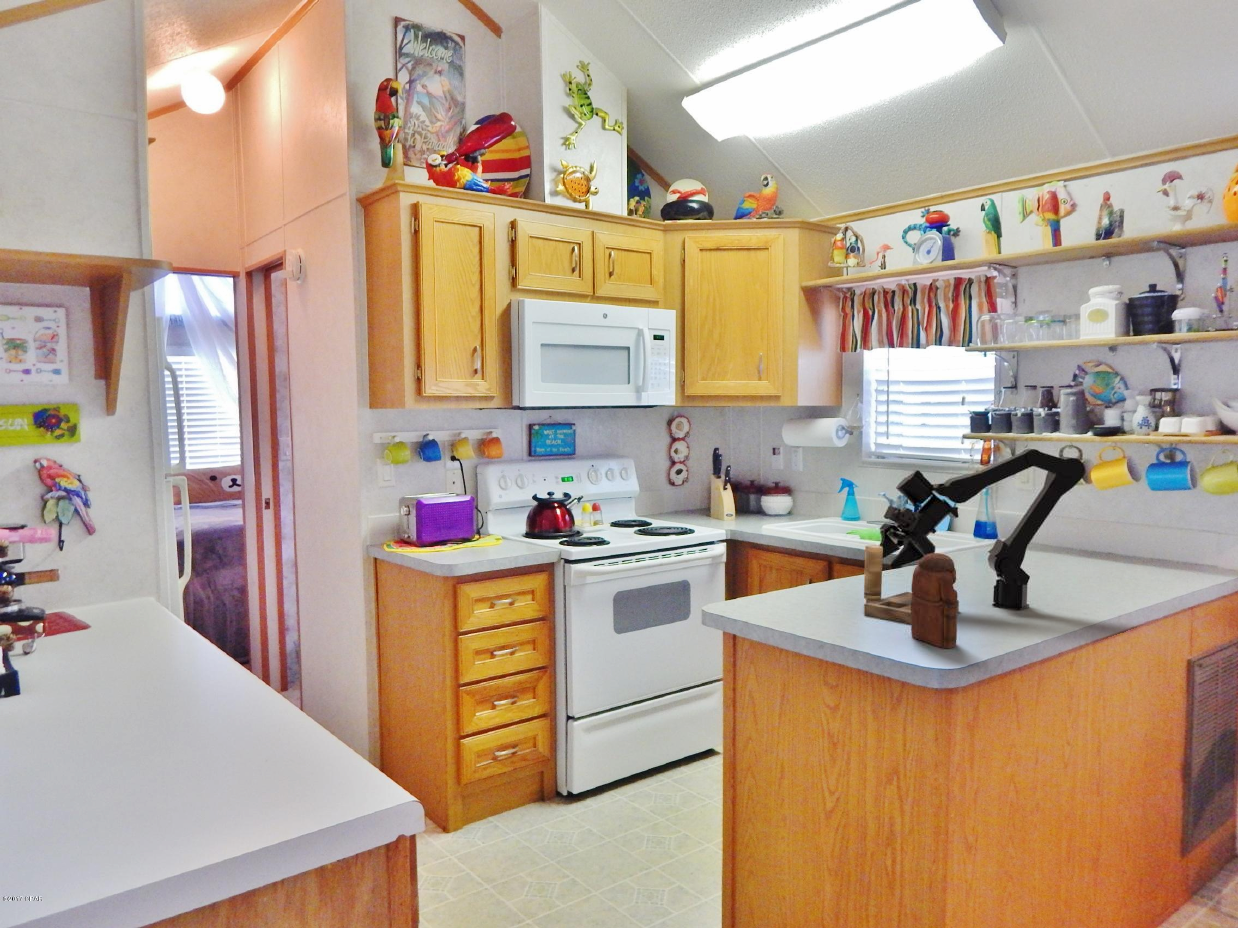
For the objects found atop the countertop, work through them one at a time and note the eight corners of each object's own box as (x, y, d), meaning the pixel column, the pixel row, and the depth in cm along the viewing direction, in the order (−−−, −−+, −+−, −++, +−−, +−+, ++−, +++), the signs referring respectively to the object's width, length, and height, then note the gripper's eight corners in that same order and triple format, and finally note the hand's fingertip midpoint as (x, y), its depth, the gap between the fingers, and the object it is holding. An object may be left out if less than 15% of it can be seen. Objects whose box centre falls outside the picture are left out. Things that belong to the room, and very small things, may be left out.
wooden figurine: (968, 647, 171) (971, 557, 170) (942, 650, 168) (945, 558, 167) (926, 632, 182) (929, 548, 181) (902, 635, 179) (905, 549, 178)
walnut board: (958, 610, 202) (958, 600, 202) (918, 625, 188) (918, 613, 188) (906, 601, 211) (906, 591, 211) (864, 614, 197) (864, 603, 197)
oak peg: (884, 604, 208) (885, 546, 207) (875, 607, 205) (877, 548, 204) (869, 601, 211) (870, 544, 210) (860, 604, 208) (862, 546, 207)
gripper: (888, 491, 217) (845, 534, 216) (925, 498, 198) (877, 546, 198) (916, 522, 218) (873, 565, 218) (955, 532, 200) (908, 580, 199)
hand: (882, 563), depth 208 cm, fingers open, 9 cm apart
